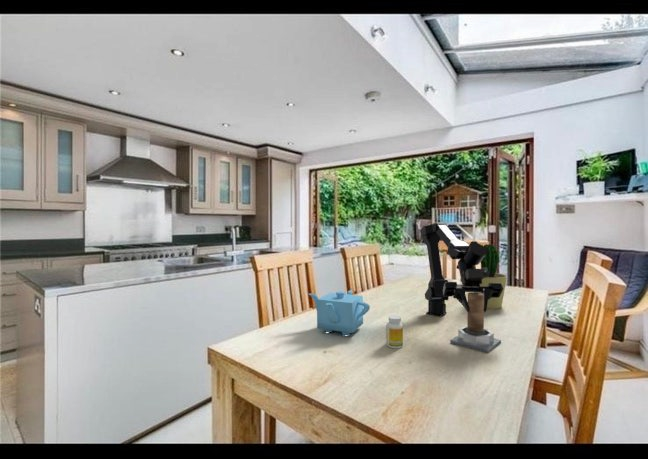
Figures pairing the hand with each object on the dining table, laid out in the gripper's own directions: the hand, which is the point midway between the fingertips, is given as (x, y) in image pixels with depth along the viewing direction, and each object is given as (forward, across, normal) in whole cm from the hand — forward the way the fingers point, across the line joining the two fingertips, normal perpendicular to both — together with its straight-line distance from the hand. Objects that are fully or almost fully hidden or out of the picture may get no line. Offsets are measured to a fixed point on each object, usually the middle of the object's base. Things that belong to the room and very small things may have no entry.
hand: (476, 311), depth 111 cm
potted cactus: (-29, +20, +45) cm, 57 cm away
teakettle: (+2, -47, +14) cm, 49 cm away
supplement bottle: (+11, -27, +5) cm, 30 cm away
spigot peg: (+4, 0, +6) cm, 7 cm away
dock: (+7, 0, +9) cm, 11 cm away
